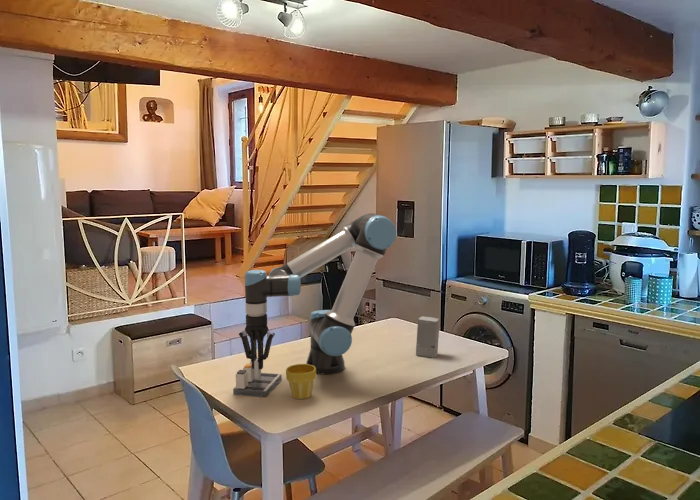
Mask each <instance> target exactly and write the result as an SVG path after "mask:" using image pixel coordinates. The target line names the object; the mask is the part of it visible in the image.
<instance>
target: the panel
mask: <svg viewBox="0 0 700 500" xmlns="http://www.w3.org/2000/svg"><path fill="white" fill-rule="evenodd" d="M282 376H283V375H282V374H281V373H270V372H261V377H260V378H259V379H254V380H253V381H252V382H248V386H247V387H246V388H244V389H241V388H236V386H234V388H233V389H232V394H233V396H236V395H237V396H246V397H258V398H267V396H268V395H269V394H271V392H272V391H273V390H274V389H275V387H276V386H277V385H278V384H279V383H280V382H281V381H282V379H283V377H282Z"/></svg>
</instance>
